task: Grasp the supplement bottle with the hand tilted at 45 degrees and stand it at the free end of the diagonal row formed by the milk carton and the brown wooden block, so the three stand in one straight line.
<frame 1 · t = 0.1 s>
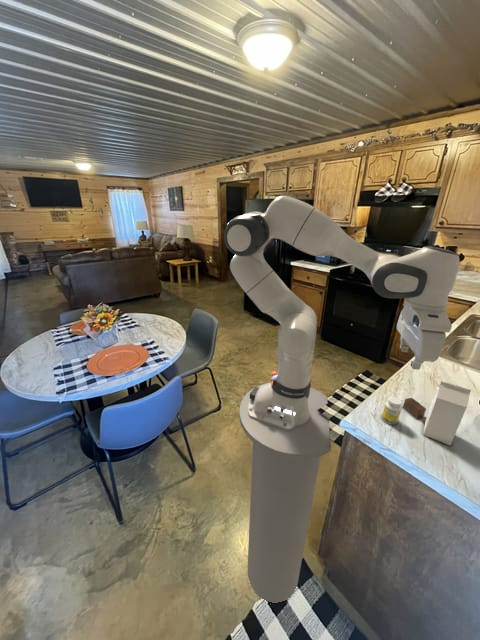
hand: (408, 359, 72), 29 cm above the counter, tool pointing down, fingers open, 8 cm apart
milk carton: (436, 433, 86), on the counter
brown wooden block: (412, 412, 95), on the counter
supplement bottle: (389, 420, 91), on the counter
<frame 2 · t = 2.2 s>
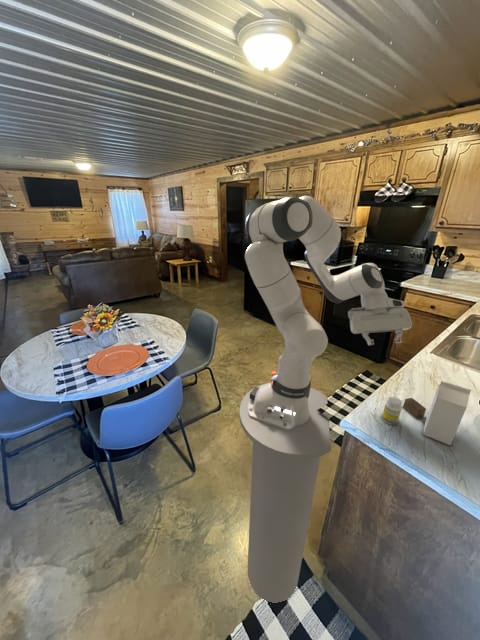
hand: (384, 344, 90), 25 cm above the counter, tool tilted 40°, fingers open, 8 cm apart
nothing on the counter moved.
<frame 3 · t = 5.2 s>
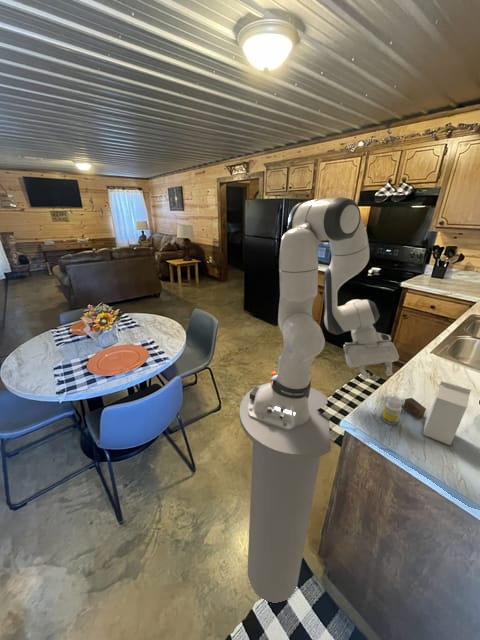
hand: (378, 376, 95), 12 cm above the counter, tool tilted 45°, fingers open, 8 cm apart
nothing on the counter moved.
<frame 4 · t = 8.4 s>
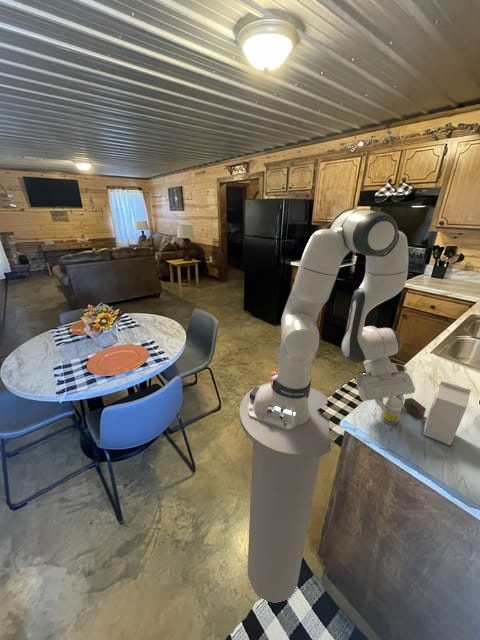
hand: (393, 410, 89), 4 cm above the counter, tool tilted 45°, fingers closed on supplement bottle, 5 cm apart
supplement bottle: (389, 420, 91), on the counter, touching gripper
everything else where it was.
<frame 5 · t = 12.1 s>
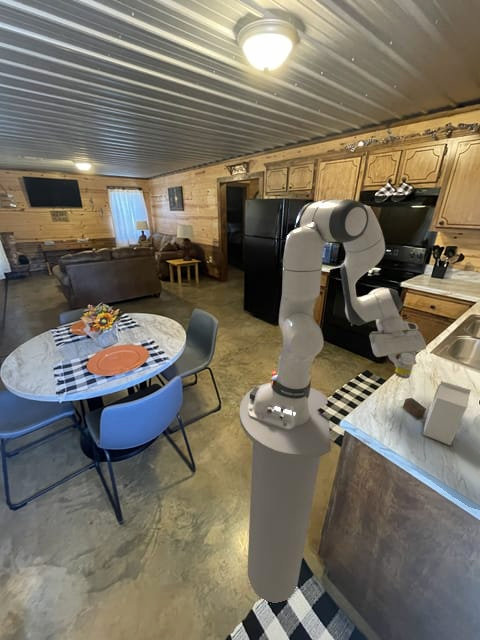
hand: (406, 365, 93), 17 cm above the counter, tool tilted 45°, fingers closed on supplement bottle, 5 cm apart
supplement bottle: (401, 375, 95), point 12 cm above the counter, touching gripper
everything else where it was.
when the fingers open (4 cm above the counter, at t = 16.2 s): supplement bottle stays where it is, on the counter.
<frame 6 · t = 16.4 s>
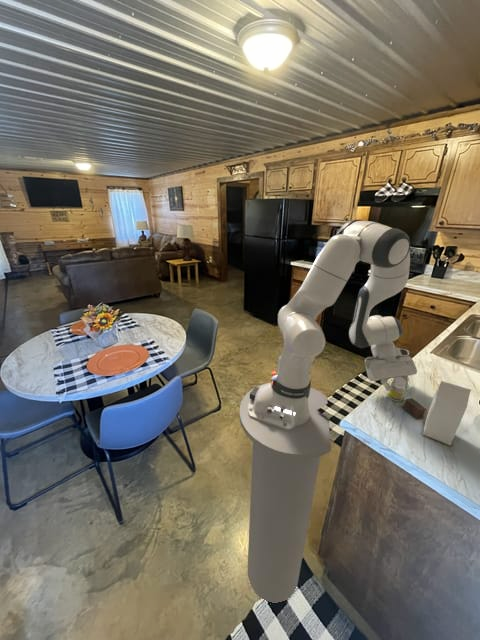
hand: (398, 389, 100), 4 cm above the counter, tool tilted 45°, fingers open, 6 cm apart
supplement bottle: (394, 397, 102), on the counter
everything else where it was.
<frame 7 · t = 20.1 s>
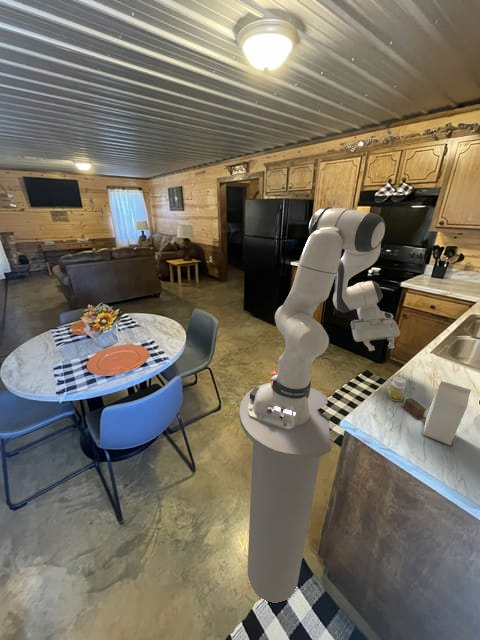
hand: (382, 349, 107), 15 cm above the counter, tool tilted 45°, fingers open, 8 cm apart
nothing on the counter moved.
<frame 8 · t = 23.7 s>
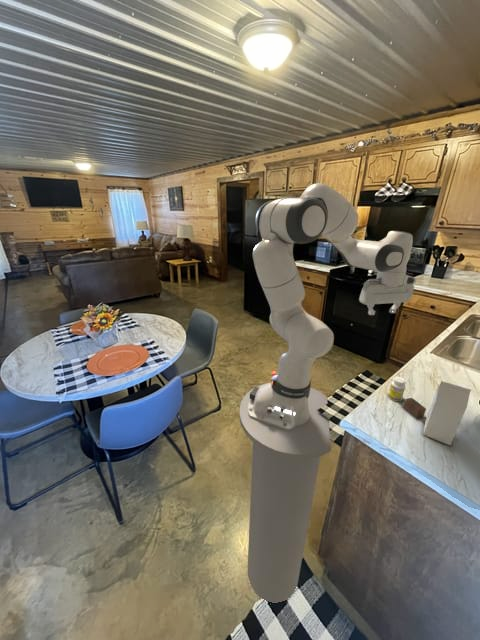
hand: (381, 313, 100), 31 cm above the counter, tool pointing down, fingers open, 8 cm apart
nothing on the counter moved.
at the end: supplement bottle 0.0 cm from the target spot, on the counter; supplement bottle tilted 0°; the gripper is holding nothing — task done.
